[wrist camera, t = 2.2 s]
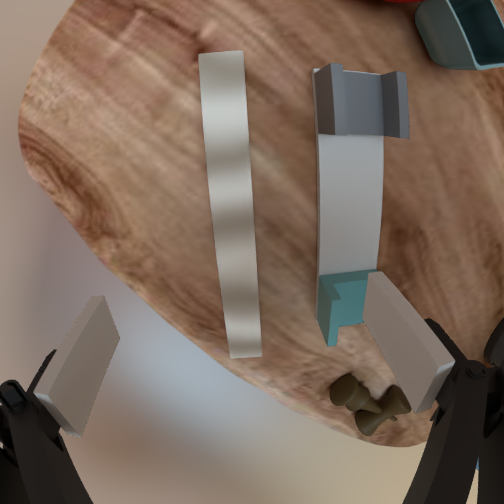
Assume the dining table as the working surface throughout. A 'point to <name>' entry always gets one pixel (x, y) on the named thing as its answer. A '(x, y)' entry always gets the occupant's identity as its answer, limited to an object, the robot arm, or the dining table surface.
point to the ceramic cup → (404, 1)
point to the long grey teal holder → (351, 183)
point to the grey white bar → (231, 196)
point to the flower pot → (462, 33)
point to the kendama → (368, 403)
